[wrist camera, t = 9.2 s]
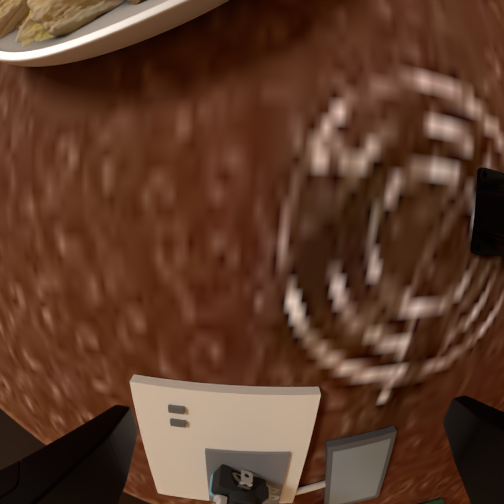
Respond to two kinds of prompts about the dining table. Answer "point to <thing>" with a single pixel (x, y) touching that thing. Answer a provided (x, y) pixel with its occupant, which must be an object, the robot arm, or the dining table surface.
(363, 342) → the dining table surface
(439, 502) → the coffee box
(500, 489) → the robot arm
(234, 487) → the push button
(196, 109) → the dining table surface
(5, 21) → the bowl
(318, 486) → the wooden dowel
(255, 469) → the outlet plate
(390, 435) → the phone slab
